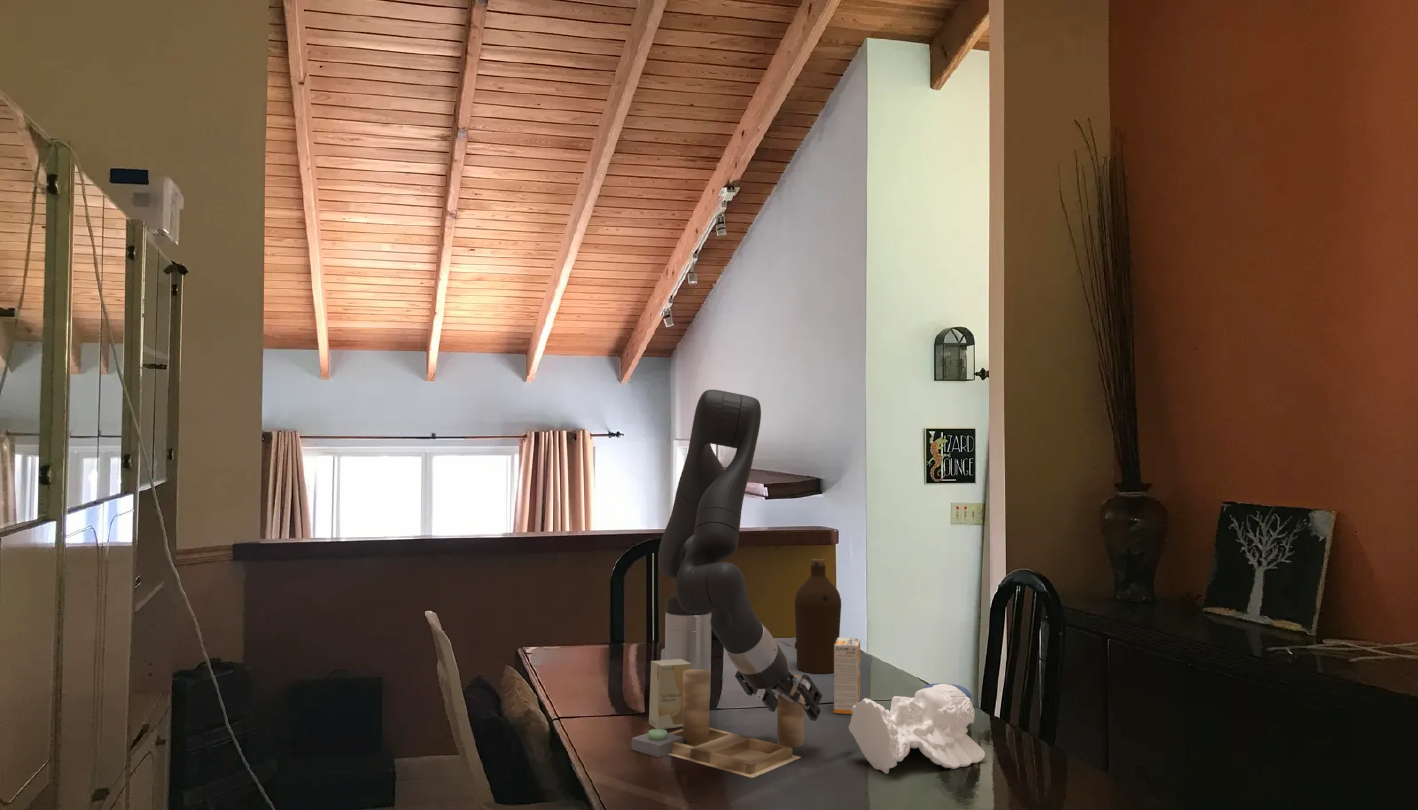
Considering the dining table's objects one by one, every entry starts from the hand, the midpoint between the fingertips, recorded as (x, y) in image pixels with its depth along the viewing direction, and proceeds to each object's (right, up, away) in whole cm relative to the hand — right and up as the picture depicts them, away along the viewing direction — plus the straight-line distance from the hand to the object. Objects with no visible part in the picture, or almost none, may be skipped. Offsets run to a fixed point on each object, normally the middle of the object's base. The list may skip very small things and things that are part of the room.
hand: (795, 711), depth 165 cm
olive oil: (+10, -9, +59) cm, 61 cm away
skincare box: (-22, -6, +9) cm, 24 cm away
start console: (-23, -6, -5) cm, 24 cm away
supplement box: (+12, -8, +25) cm, 29 cm away
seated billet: (-17, -5, -3) cm, 18 cm away
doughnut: (+32, -8, +28) cm, 43 cm away
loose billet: (-1, -6, -1) cm, 6 cm away
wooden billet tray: (-12, -6, -7) cm, 15 cm away
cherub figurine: (+19, -7, -5) cm, 21 cm away
